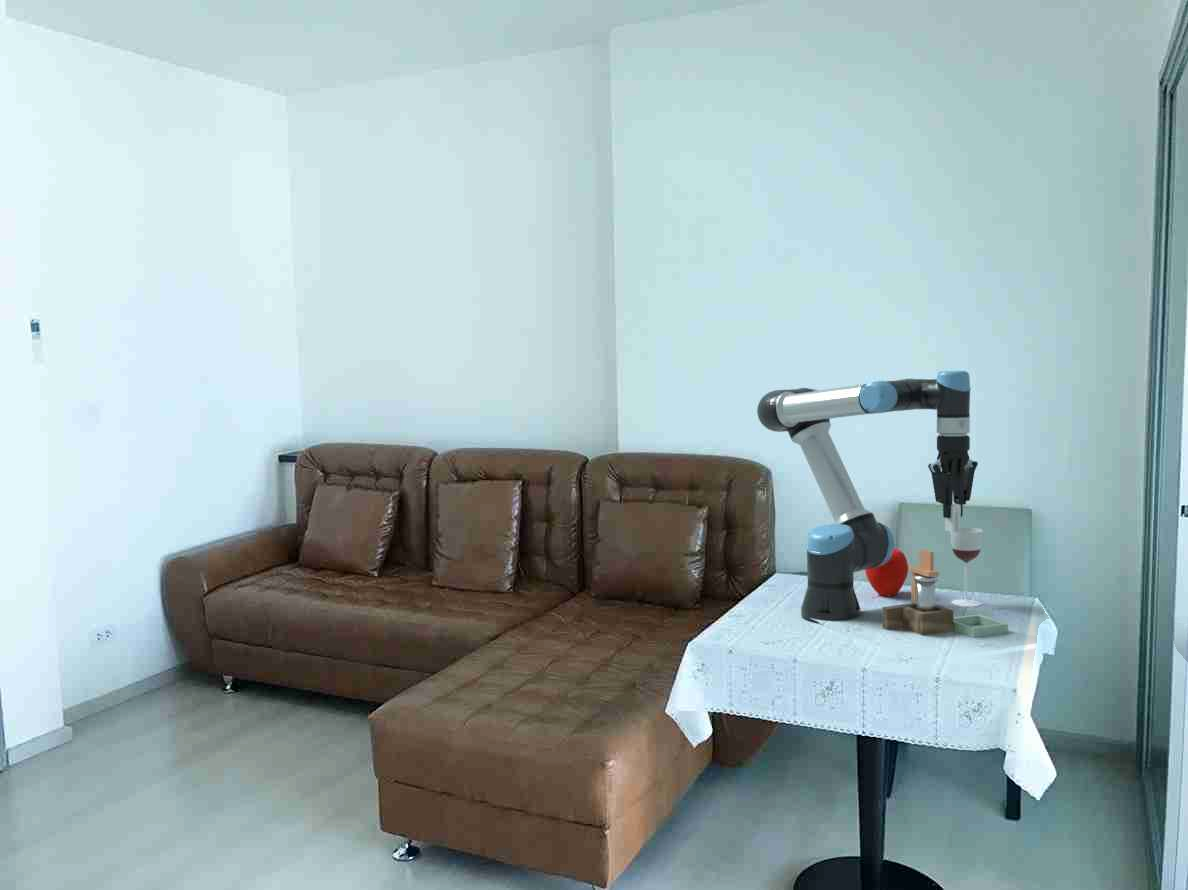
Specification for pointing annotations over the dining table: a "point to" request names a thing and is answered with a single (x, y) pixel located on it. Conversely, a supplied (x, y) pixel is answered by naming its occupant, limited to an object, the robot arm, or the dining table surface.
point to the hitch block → (918, 619)
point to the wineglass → (966, 554)
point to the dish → (987, 629)
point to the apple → (889, 575)
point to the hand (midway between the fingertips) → (952, 530)
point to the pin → (925, 592)
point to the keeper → (922, 570)
